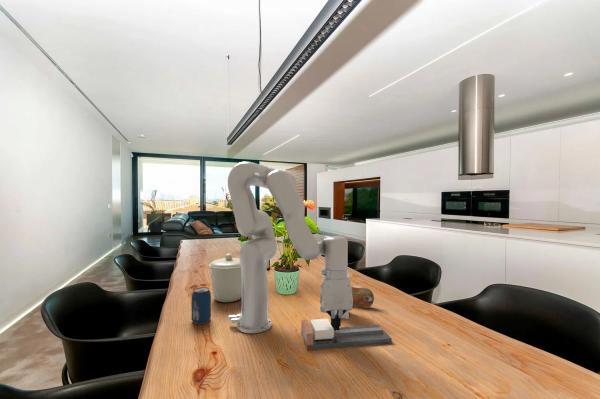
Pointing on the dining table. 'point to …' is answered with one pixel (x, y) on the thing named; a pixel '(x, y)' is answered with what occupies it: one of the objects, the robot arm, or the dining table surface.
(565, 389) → the dining table surface
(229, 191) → the robot arm
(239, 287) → the canister
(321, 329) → the slider
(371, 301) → the tin
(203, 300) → the soda can
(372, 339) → the rail
